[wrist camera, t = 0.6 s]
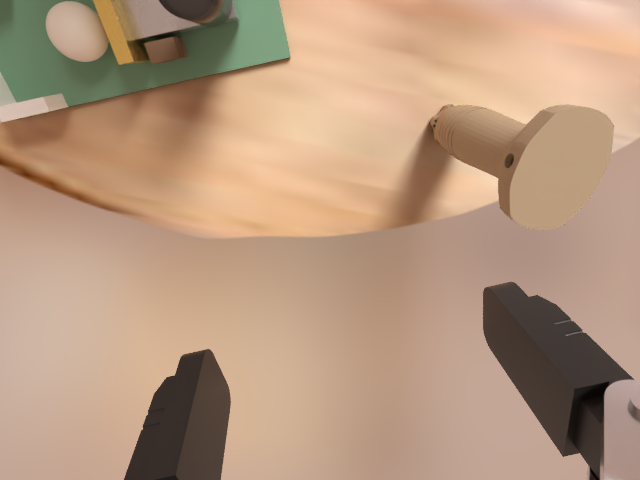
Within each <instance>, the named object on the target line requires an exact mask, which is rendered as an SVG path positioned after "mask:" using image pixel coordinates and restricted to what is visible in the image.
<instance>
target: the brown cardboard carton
mask: <svg viewBox="0 0 640 480" xmlns="http://www.w3.org/2000/svg"><path fill="white" fill-rule="evenodd" d="M144 45H145V47H146V50H147V53H148V55H149V58H150V61H151V64H158V63H165V62H169V61H174V60H178V59H183V58H187V57H188V55H187V52H186V49H185V46H184V43H183V40H182V38H179V37H169V38H165V39H161V40H156V41H152V42H147V43H144Z"/></svg>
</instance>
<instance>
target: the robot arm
mask: <svg viewBox="0 0 640 480" xmlns="http://www.w3.org/2000/svg"><path fill="white" fill-rule="evenodd" d="M483 330H484V335H485V338H486V341H487V343H488V346H489V348H490V349H491V351H492V352H493V354H494V355H495V357H496V358H497V360H498V361H499V363H500V364H501V366H502V367H503V369H504V370H505V371H506V373H507V375H508V376H509V377H510V379H511V380H512V382H513V383H514V385H515V386H516V388H517V389H518V391H519V392H520V394H521V395H522V397H523V398H524V400H525V401H526V403H527V404H528V406H529V407H530V409H531V410H532V412H533V413H534V414H535V416H536V417H537V419H538V420H539V422H540V423H541V425H542V426H543V428H544V429H545V431H546V432H547V434H548V435H549V437H550V438H551V440H552V441H553V443H554V444H555V445H556V447H557V448H558V450H559V451H560V453H561V454H562V456H563V457H564V456H568V455H573V454H577V453H580V454H581V455H582V457H583V458H584V459H585V461H586V462H587V464H588V469H587V480H640V381H638V380H634V379H633V378H632V377H631V376H630V375H629V374H628V373H627V372H626V371H625V370H623V369H622V368H621V367H620V366H619V365H618V364H617V363H616V362H615V361H614V360H613V359H612V358H611V357H610V356H609V355H608V354H607V353H606V352H605V351H604V350H603V349H602V348H601V347H600V346H599V345H597V343H595V342H594V341H593V340H592V339H591V338H590V337H589V336H588V335H587V334H586V333H583V331H582V329H581V328H580V327H579V326H578V325H577V324H576V323H575V322H573V321H571V319H570V317H569V316H567V315H566V314H565V313H564V312H563V311H562V310H561V309H560V308H559V307H558V306H557V305H556V304H554V303H551V302H550V301H548V300H546V299H544V298H542V297H540V296H538V295H536V296H531V297H528V296H527V295H526V294H525V293H524V291H523V290H522V289H521V288H520V287H519V286H518V285H517V284H516V283H514V282H508V283H503V284H499V285H495V286H491V287H486V288H485V289H484V292H483ZM230 402H231V401H230V392H229V387H228V384H227V382H226V380H225V378H224V376H223V374H222V372H221V369H220V367H219V365H218V363H217V361H216V359H215V357H214V354H213V353H212V351H211V350H209V349H207V350H202V351H198V352H193V353H189V354H184V355H183V356H182V357H181V359H180V361H179V364H178V368H177V371H176V374H175V376H171V377H167V378H166V379H165V380H164V382H163V383H162V384H161V386H160V387H159V388H158V390H157V391H156V392H155V394H154V396H153V399H152V402H151V405H150V407H149V410H148V415H147V416H146V419H145V422H144V424H143V430H142V431H141V433H140V436H139V439H138V441H137V444H136V447H135V450H134V453H133V455H132V458H131V461H130V464H129V467H128V470H127V472H126V475H125V478H124V480H221V472H222V464H223V457H224V450H225V442H226V435H227V427H228V420H229V413H230Z"/></svg>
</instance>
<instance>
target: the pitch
mask: <svg viewBox="0 0 640 480" xmlns="http://www.w3.org/2000/svg"><path fill="white" fill-rule="evenodd" d="M65 1H74V2H78V3H81V4H84V5H86V6H88V7H90V8H91V9H92V10H94V11H95V12H96V13H97V14H98V12H97V9H96V7H95V4H94V2H93V0H0V72H1V74H2V76H3V78H4V80H5V82H6V83H7V85H8V87H9V89H10V91H11V93H12V95H13V97H14V98H15V100H16V102H17V103H18V102H22V101H27V100H31V99H36V98H40V97H45V96H50V95H56V94H61V93H62V94H63V96H64V99H65V101H66V103H67V105H68V107H70V106H75V105H79V104H83V103H88V102H92V101H97V100H101V99H106V98H110V97H115V96H119V95H124V94H128V93H133V92H137V91H141V90H146V89H150V88H155V87H159V86H164V85H168V84H173V83H177V82H182V81H186V80H191V79H195V78H200V77H204V76H208V75H213V74H217V73H222V72H226V71H231V70H235V69H240V68H244V67H249V66H253V65H258V64H262V63H266V62H271V61H275V60H280V59H284V58H289V57H290V52H289V48H288V43H287V38H286V33H285V29H284V24H283V19H282V14H281V10H280V5H279V0H235V1H236V5H237V9H238V13H239V17H240V20H236V21H231V22H227V23H223V24H222V25H220V26H217V27H205V28H200V29H196V30H191V31H187V32H182V33H178V34H174V35H169V36H165V37H160V38H156V39H151V40H147V41H146V43H147V42H152V41H156V40H161V39H165V38H169V37H179V38H182V40H183V43H184V46H185V49H186V52H187V55H188V57H187V58H183V59H178V60H174V61H169V62H165V63H158V64H151V61H147V62H143V63H136V64H124V65H119V64H118V62H117V59H116V57H115V54H114V52H113V49H112V47H111V44H110V42H109V43H108V47H107V50H106V52H105V53H104V54H103V55H102V56H101V57H100V58H99V59H97V60H94V61H90V62H80V61H76V60H73V59H70V58H68V57H66V56H65V55H63V54H62V53H61V52H60V51H58V50H57V49H56V48H55V46H54V45H53V44H52V42H51V41H50V39H49V37H48V34H47V31H46V17H47V14H48V12H49V11H50V9H51V8H52V7H53V6H55V5H56V4H58V3H61V2H65ZM98 15H99V14H98Z"/></svg>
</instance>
